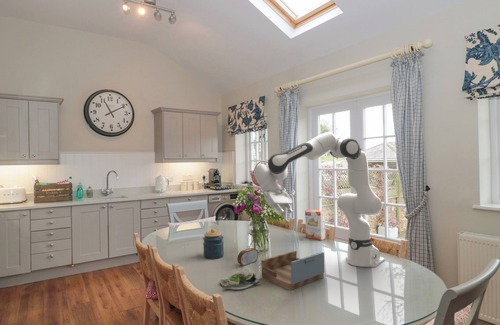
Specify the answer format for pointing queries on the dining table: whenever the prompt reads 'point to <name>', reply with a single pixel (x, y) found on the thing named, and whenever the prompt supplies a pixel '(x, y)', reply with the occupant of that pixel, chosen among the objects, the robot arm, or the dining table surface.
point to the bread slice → (247, 256)
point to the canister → (213, 245)
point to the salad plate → (239, 281)
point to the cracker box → (315, 224)
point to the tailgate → (307, 267)
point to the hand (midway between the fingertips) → (287, 212)
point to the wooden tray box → (283, 271)
